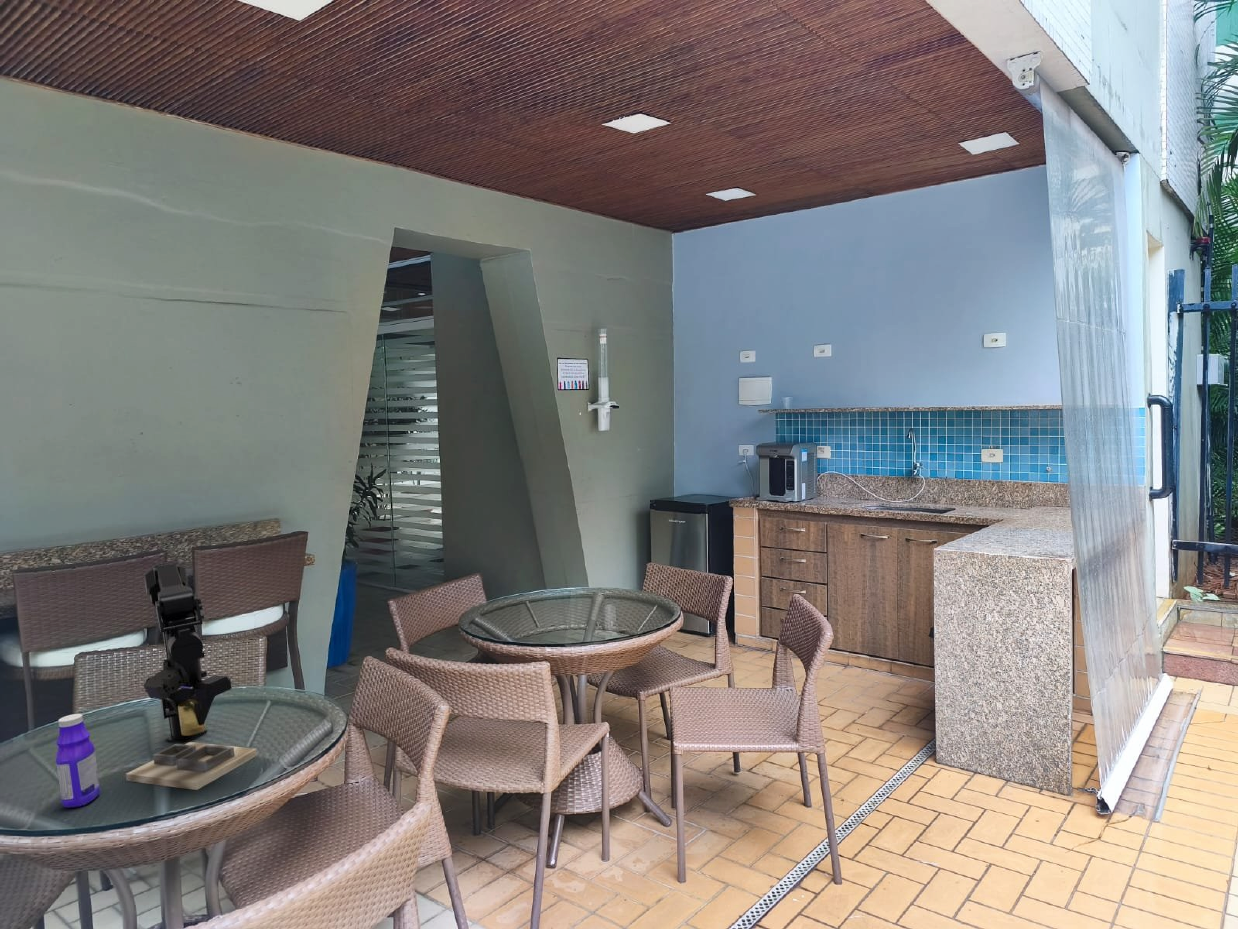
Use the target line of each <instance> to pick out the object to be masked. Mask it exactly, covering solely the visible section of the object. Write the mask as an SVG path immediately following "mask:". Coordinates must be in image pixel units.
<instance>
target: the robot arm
mask: <svg viewBox="0 0 1238 929" xmlns="http://www.w3.org/2000/svg"><path fill="white" fill-rule="evenodd" d="M188 582H189V581H188V576H187V570H186V568H185V567H183V566H180V565H179V561H175V560H174V561H168V562H167V561H165V562H161V563H156V564H155V565H153V566H152V569H151V570H150V571H148V572H147V573H146V574H144V585H145V586H144V587H145V592H146V596H147V597H149V598H150V602H151V604H152V605H153V607H155V611H156V616H157V621H158V627H159V631H160V633H162V638H163V643H164V651H165V659H164V660H163V663H162V669H161V670H159V672H156V673H155V674H154V675H151V676H149V677H147V679H146V680H145V682H144V684H142V685H143V688H144V690H145V693H146V694H147V695H148V697H149V699H150V700H151V699H158V700H160V706H161V711H162V712H161V714H162V717H163V720H166V719H168V724H169V731H170V736H169V737H166V738H165V741H166V742H172V743H178V744H187V743H189V742H191V741H192V740H194V739H196V738H198V737H200V736H202V735H204V734H207V732H208V730H207V729H205V730H204V731H202V732H200V733H198V734H194V735H188V736H185V735H182V733H181V726H180V719H179V711H178V705H179V704H180V703H182V702H184V701H187V700H190V701H191V702H193V703H194V707H195V712H196V717H197V721H198V724H199V725H203V724H204V723H205V724H206V720H207V717H208V714H209V712H210V710H211V707H212V704H213V702H214V701H215V697H216V696H219V695H222V694H223V693H225V692H228V691H230V690H232V687H233V686H232V680H231V678H230V677H229V676H226V675H212V676H209V677H207V676H208V674H207V670H202V663H201V659H203V658H205V652H204V651H203V650H204V644H203V642H202V640H201V638H200V637H199V634H198V633H197V627H196V626H199V625H203V620H204V619H205V612H204V608H203V604H202V600H201V598H200V597H199V595H198V594H197V593H195V594H194V592H193V589H192V588H191V586H188V585H189V583H188ZM205 677H207V678H205ZM203 678H205V679H203ZM202 679H203V680H202Z"/></svg>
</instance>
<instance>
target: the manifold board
mask: <svg viewBox="0 0 1238 929" xmlns="http://www.w3.org/2000/svg"><path fill="white" fill-rule="evenodd" d="M256 757H258V749H257V748H254V747H253V748H252V747H242V746H241V747H240V746H231V745H223V744H213V743H203V742H193V741H192V742H191V741H188V742H186V743H175V744H173V745H170V746H169V747H167V748H165V749H162V750H160V751H158V752H156V753H154V754H152V758H153V760H151V761H148V762H146V763H144V764H143V765H141V766H139V767H137V768H134V769H132V770H131V771H129V772H127V773H125V778H126V782H134V783H141V784H147V785H148V784H149V785H155V786H164V787H173V788H180V789H187V790H193V791H198V790H199V789H201V788H203V787H204V786H206V785H208V784H210V783H212V782H214V781H215V780H217V779H219V778H220V777H222V776H224V775H226V774H228V773H229V772H231V771H233V770H235V769H237V768H238V767H240V766H241V765H243V764H245V763H247V762H249V761H251V760H252V759H254V758H256Z"/></svg>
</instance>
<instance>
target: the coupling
mask: <svg viewBox="0 0 1238 929" xmlns="http://www.w3.org/2000/svg"><path fill="white" fill-rule="evenodd" d="M178 711H179V719H180V726H181V733H182V735H185V736H188V735H194V734H198V733H200V732H202V731H204V730H207V729H206V728H207V726H206V722H205V723H204V724H203V725H199V724H198V721H197V717H196V712H195V707H194V703H193V702H191V701H190V700H187V701H184V702H182V703H180V704H179V705H178Z"/></svg>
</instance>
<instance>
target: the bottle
mask: <svg viewBox="0 0 1238 929" xmlns="http://www.w3.org/2000/svg"><path fill="white" fill-rule="evenodd" d="M58 727H59V728H58V729H59V734H58V737H57V739H56V745H57V746H58V750H57V752H56V758H55V763H56V767H57V768H56V770H57V777H58V782H59V790H60V791H59V792H60V798H61V799H60V800H61V804H62V806H63V807H65V808H66V807H67V808H70V807H71V808H77V807H78V806H79V807H82V805H83V806H86V805H87V804H89V803H90V802H92V801H93V800H95V799H96V798H97V797H98V795H99V794H100V789H101V786H100V779H99V774H98V766H97V759H96V758H97V756H96V751H95V746H94V744H93V742H92V740H90V737H91V734H90V732H89V731H88V730H87V728H86V726H85V723H84V716H83V714H81V713H73V714H69V715H66V716H62V717H60V718H59V719H58ZM71 808H70V809H71Z"/></svg>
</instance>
